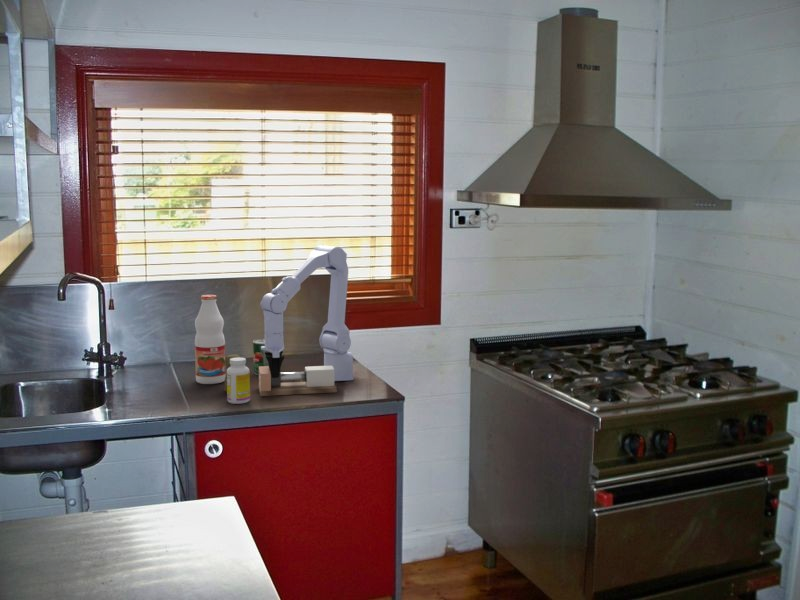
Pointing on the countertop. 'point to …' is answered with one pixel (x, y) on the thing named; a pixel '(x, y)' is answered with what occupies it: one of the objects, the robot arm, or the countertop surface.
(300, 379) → the tube
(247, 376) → the supplement bottle
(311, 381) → the sleeve
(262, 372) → the socket block
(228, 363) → the olive tan rounded piece
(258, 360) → the canned tomato
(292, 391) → the tan board
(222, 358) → the fruit juice
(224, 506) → the countertop surface
